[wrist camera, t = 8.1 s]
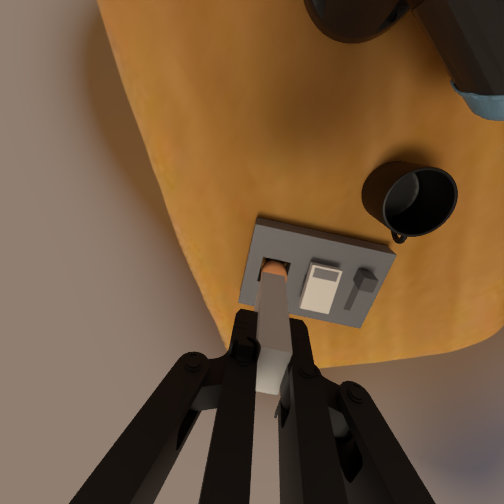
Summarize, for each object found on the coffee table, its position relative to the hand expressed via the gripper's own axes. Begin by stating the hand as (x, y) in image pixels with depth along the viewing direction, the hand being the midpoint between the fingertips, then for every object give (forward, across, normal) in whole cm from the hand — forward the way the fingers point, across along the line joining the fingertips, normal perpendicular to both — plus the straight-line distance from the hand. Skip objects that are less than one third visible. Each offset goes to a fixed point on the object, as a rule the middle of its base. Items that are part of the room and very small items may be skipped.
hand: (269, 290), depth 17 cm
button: (+29, +3, -12) cm, 31 cm away
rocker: (+23, +11, -12) cm, 28 cm away
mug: (+30, +20, +4) cm, 36 cm away
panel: (+29, +10, -12) cm, 33 cm away
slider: (+25, +18, -9) cm, 33 cm away
